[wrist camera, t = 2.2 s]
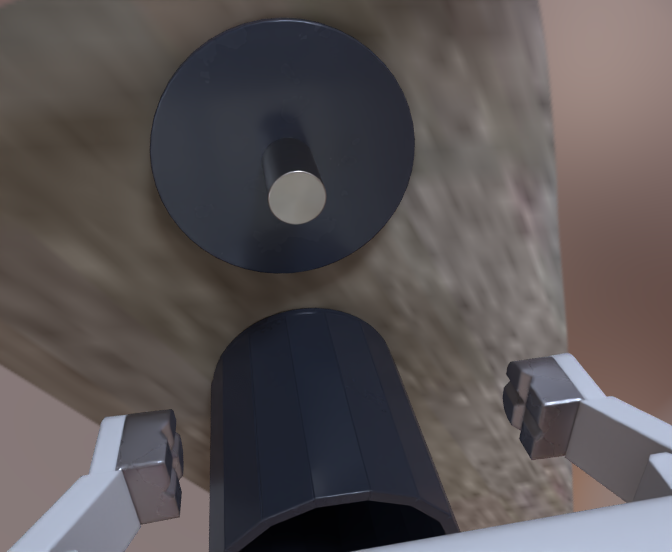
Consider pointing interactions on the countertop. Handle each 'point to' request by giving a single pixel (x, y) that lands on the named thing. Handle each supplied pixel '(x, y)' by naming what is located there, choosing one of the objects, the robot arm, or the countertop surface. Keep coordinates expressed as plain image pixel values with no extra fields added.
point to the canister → (317, 442)
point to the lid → (282, 145)
